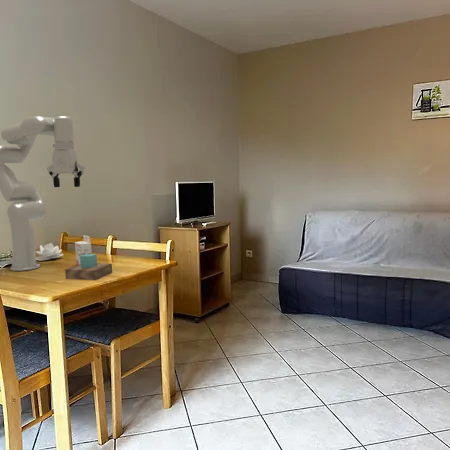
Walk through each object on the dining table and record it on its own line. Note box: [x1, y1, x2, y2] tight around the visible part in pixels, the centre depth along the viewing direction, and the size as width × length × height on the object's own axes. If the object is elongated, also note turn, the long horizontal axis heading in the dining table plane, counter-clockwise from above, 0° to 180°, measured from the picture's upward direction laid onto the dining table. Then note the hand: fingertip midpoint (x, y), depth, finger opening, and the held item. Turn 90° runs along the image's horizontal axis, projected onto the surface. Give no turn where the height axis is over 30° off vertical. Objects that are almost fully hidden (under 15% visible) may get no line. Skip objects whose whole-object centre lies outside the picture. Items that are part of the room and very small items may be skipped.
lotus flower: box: [35, 242, 65, 262], centre depth 217 cm, size 14×15×9 cm
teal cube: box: [80, 253, 98, 268], centre depth 177 cm, size 5×5×5 cm
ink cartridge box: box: [74, 234, 93, 266], centre depth 196 cm, size 9×5×15 cm, turn 41°
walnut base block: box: [64, 262, 113, 281], centre depth 177 cm, size 14×14×4 cm
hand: (67, 187), depth 176 cm, fingers open, 9 cm apart
